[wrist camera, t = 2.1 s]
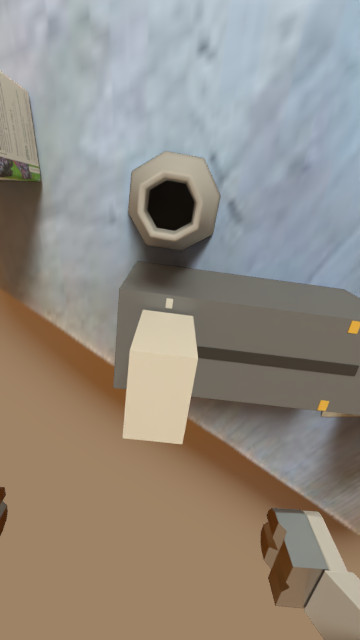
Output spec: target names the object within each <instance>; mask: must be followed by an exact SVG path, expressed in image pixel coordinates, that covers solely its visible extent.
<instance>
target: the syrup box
mask: <svg viewBox="0 0 360 640" xmlns="http://www.w3.org/2000/svg"><path fill="white" fill-rule="evenodd" d="M0 180H8V181H40V180H41V177H40V170H39V163H38V156H37V149H36V142H35V136H34V128H33V122H32V116H31V109H30V103H29V96H28V92H27V90H25V89H24V88H23V87H21V86H20V85H19V84H17V83H16V82H14V81H13V80H11V79H10V78H9V77H8V76H6V75H5V74H4V73H2V72H1V71H0Z"/></svg>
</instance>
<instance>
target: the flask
mask: <svg viewBox="0 0 360 640" xmlns="http://www.w3.org/2000/svg"><path fill="white" fill-rule="evenodd" d="M219 201H220V193H219V191H218V189H217V186H216V184H215V182H214V179H213V177H212V175H211V172H210V170H209V168H208V165H207V163H206V161H205V159H204V158H201V157H196V156H190V155H185V154H180V153H174V152H169V151H164V152H163V153H161V154H160V155H158V156H156V157H155V158H153V159H151V160H150V161H148V162H146V163H145V164H143V165H141V166H140V167H138V168H136V169H135V170H133V171H132V173H131V184H130V195H129V206H128V213H129V215H130V216H131V218H132V220H133V222H134V224H135V225H136V227H137V229H138V231H139V233H140V234H141V236H142V238H143V240H144V242H145V243H146V245H149V246H155V247H161V248H167V249H173V250H179V251H182V250H184V249H186V248H188V247H190V246H192V245H193V244H195V243H197V242H199V241H201V240H203V239H205V238H207V237H209V236H210V235H212V234H213V232H214V227H215V222H216V217H217V211H218V206H219Z"/></svg>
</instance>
